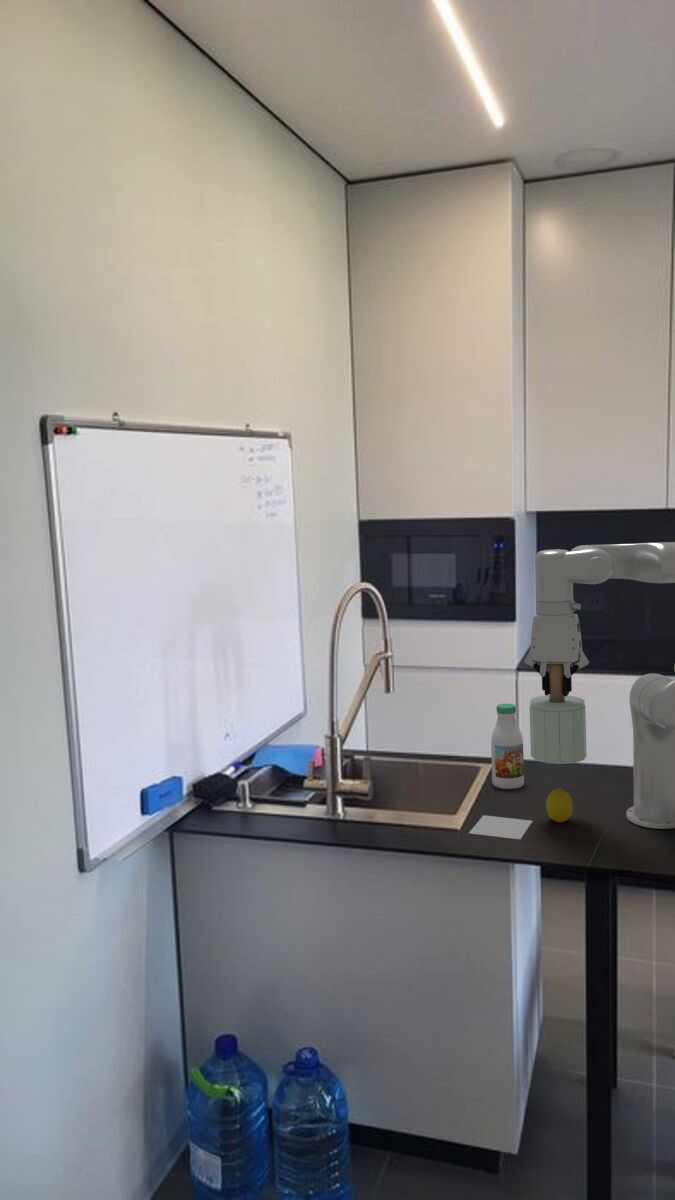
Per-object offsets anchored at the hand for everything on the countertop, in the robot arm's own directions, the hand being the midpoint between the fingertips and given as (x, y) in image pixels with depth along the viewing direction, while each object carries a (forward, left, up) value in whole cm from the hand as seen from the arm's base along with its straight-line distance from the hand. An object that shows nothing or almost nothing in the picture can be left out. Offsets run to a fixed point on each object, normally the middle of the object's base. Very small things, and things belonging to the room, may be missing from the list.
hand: (556, 693), depth 193 cm
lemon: (0, 0, -29) cm, 29 cm away
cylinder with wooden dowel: (0, 0, -14) cm, 14 cm away
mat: (+11, +7, -29) cm, 31 cm away
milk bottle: (+17, -22, -29) cm, 40 cm away
